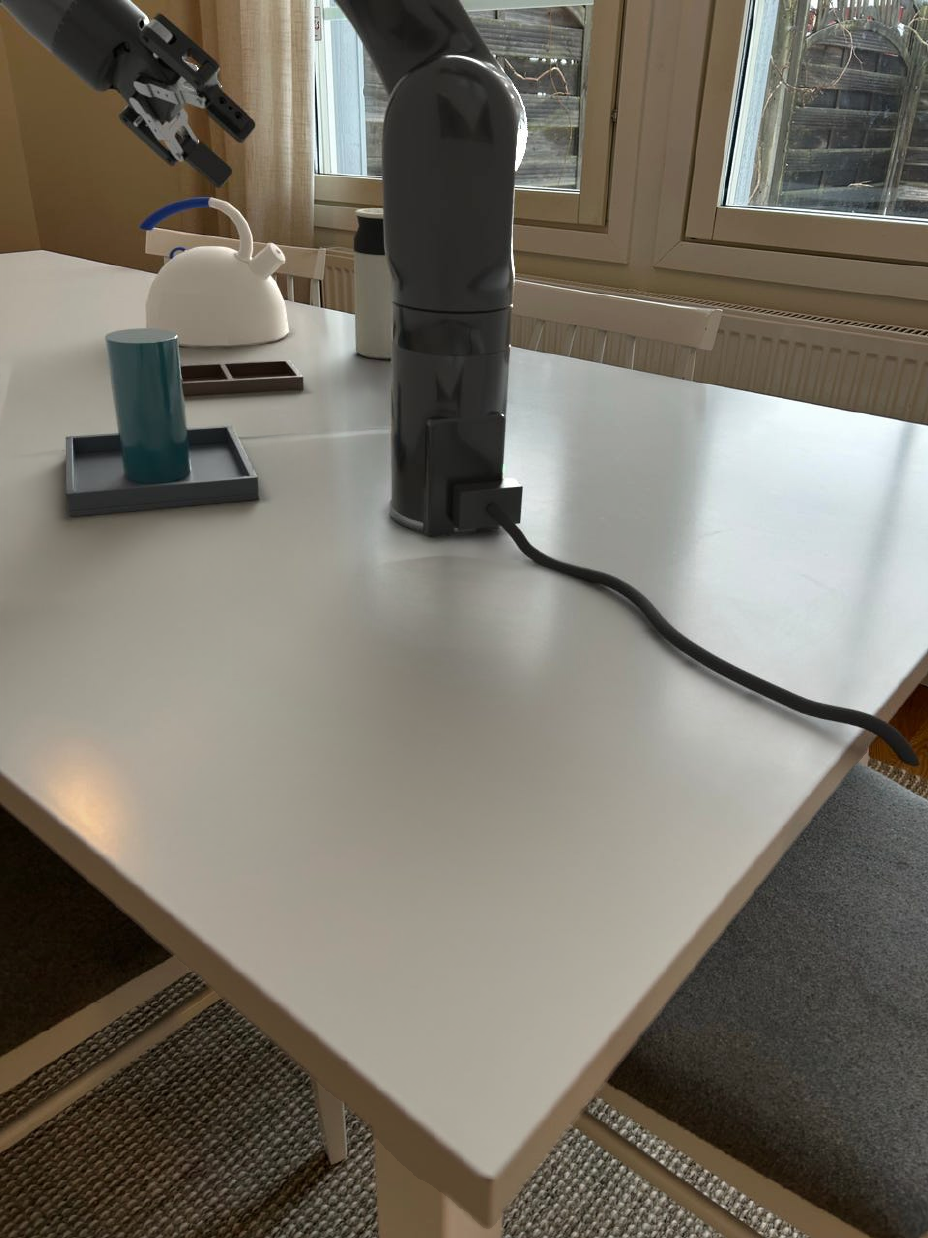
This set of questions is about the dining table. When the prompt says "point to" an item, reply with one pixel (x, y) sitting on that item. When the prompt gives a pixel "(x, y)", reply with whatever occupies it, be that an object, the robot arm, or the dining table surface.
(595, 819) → the dining table surface
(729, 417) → the dining table surface
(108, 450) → the tray
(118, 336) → the teal cylinder
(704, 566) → the dining table surface
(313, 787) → the dining table surface
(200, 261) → the kettle
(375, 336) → the travel mug
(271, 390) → the tray
